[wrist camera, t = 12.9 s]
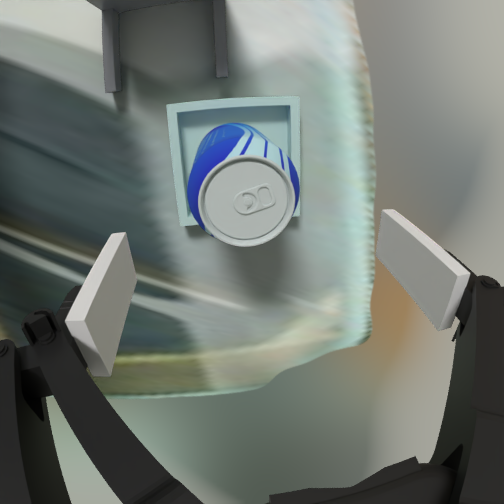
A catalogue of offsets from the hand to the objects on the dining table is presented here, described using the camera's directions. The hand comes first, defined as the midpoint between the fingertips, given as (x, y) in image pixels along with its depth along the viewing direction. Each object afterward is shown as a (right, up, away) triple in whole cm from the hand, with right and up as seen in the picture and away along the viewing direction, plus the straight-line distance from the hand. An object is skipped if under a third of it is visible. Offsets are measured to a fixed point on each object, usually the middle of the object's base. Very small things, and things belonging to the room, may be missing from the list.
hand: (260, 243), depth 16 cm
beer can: (-2, +10, +20) cm, 23 cm away
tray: (-2, +11, +20) cm, 23 cm away
